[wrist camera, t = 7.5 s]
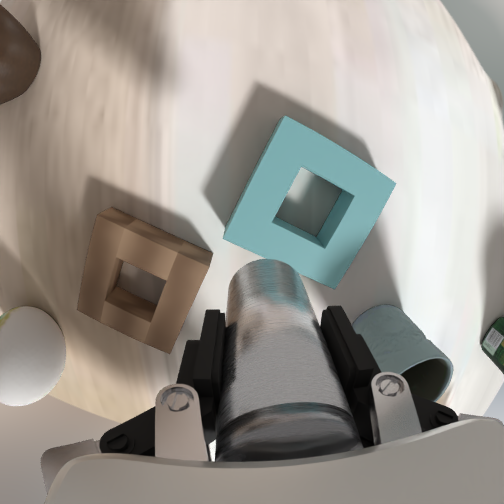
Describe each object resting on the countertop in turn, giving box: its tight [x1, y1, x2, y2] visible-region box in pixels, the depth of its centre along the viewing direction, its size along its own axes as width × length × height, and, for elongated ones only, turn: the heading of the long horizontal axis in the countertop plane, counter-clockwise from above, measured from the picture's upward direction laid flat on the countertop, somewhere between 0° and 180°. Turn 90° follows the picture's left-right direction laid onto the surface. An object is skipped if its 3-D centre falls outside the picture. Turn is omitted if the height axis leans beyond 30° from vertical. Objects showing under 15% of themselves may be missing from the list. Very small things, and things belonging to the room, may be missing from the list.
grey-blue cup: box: [352, 305, 453, 402], centre depth 29 cm, size 10×10×12 cm
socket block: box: [223, 116, 396, 289], centre depth 26 cm, size 12×12×4 cm
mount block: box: [77, 207, 213, 354], centre depth 29 cm, size 12×12×4 cm
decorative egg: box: [0, 306, 66, 406], centre depth 26 cm, size 12×12×15 cm
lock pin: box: [215, 259, 363, 462], centre depth 11 cm, size 4×4×10 cm
